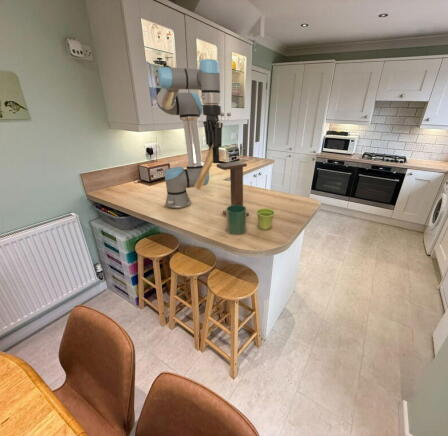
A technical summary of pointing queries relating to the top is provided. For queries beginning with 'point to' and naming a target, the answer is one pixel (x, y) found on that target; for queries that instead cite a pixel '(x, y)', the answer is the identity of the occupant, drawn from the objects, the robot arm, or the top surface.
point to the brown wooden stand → (235, 181)
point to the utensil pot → (236, 219)
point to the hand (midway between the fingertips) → (214, 162)
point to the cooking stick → (205, 170)
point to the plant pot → (265, 218)
